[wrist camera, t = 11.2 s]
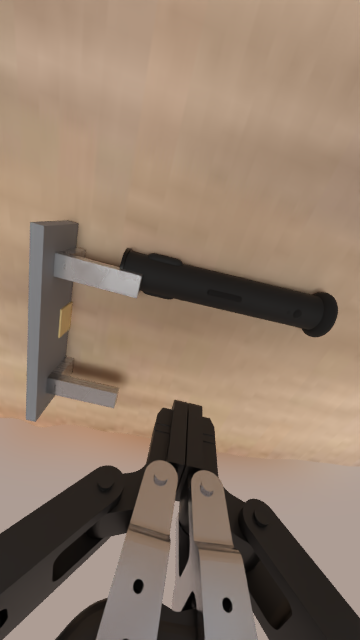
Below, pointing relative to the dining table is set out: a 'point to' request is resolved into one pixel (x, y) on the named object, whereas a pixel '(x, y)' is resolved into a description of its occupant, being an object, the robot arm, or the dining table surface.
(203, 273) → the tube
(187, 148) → the dining table surface
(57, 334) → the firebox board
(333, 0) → the dining table surface
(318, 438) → the dining table surface
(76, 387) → the grey u-shaped bracket
